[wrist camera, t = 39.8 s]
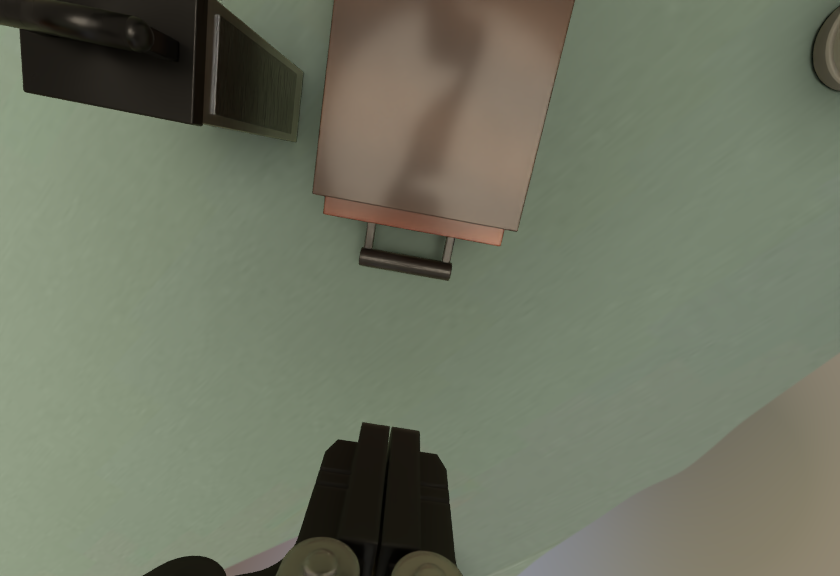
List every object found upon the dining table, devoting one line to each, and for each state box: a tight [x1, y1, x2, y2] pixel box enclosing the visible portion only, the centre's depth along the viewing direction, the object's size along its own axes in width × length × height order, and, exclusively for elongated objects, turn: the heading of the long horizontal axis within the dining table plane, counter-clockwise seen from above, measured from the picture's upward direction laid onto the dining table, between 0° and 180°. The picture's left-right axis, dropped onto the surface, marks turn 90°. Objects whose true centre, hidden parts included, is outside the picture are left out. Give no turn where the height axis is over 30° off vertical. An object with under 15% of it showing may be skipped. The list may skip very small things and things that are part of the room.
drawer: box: [323, 196, 504, 281], centre depth 29 cm, size 20×11×7 cm, turn 170°
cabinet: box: [312, 0, 575, 232], centre depth 27 cm, size 17×13×9 cm
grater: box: [0, 0, 303, 142], centre depth 23 cm, size 5×7×18 cm
